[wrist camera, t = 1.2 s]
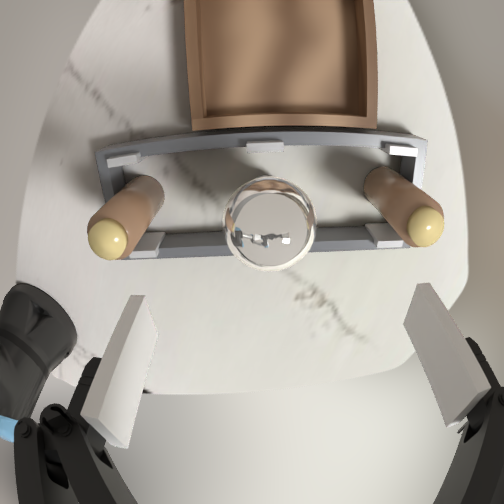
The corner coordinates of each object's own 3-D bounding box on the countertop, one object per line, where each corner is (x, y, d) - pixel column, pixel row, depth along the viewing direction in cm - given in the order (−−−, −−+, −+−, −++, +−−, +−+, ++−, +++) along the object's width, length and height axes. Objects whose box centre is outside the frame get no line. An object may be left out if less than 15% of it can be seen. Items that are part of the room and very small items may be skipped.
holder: (130, 245, 32) (117, 265, 29) (108, 145, 26) (89, 154, 23) (399, 234, 32) (413, 252, 28) (413, 134, 26) (433, 142, 22)
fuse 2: (361, 205, 30) (400, 254, 21) (365, 165, 28) (410, 202, 19) (397, 205, 30) (442, 252, 21) (402, 167, 27) (454, 204, 19)
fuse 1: (130, 215, 30) (91, 267, 22) (122, 178, 28) (75, 219, 20) (167, 212, 30) (137, 265, 22) (160, 173, 28) (123, 213, 19)
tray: (198, 126, 26) (192, 130, 23) (190, -7, 18) (183, -17, 16) (364, 124, 25) (376, 128, 23) (360, -5, 18) (371, -13, 16)
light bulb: (230, 151, 27) (217, 193, 17) (303, 155, 27) (335, 201, 17) (229, 216, 31) (217, 289, 20) (295, 220, 31) (316, 293, 21)
